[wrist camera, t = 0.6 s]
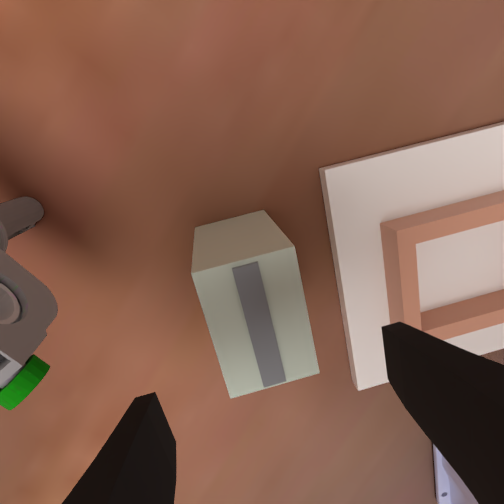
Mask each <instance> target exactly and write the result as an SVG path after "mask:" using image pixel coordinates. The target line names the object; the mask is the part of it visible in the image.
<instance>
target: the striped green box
mask: <svg viewBox="0 0 504 504" xmlns="http://www.w3.org/2000/svg"><path fill="white" fill-rule="evenodd" d="M191 275H192V278H193V281H194V284H195V288H196V291H197V294H198V297H199V300H200V303H201V307H202V310H203V313H204V316H205V319H206V322H207V326H208V329H209V332H210V335H211V338H212V341H213V345H214V348H215V351H216V354H217V357H218V360H219V364H220V367H221V370H222V373H223V376H224V379H225V383H226V386H227V389H228V392H229V395H230V398H235V397H238V396H242V395H245V394H249V393H252V392H256V391H259V390H263V389H266V388H270V387H273V386H276V385H280V384H283V383H287V382H290V381H294V380H297V379H301V378H304V377H308V376H311V375H315V374H318V373H320V372H319V367H318V362H317V357H316V352H315V347H314V342H313V337H312V332H311V327H310V321H309V316H308V311H307V306H306V301H305V296H304V291H303V286H302V281H301V276H300V271H299V266H298V260H297V255H296V250H295V246H294V245H293V244H292V242H291V241H290V240H289V239H288V238H287V237H286V235H285V234H284V233H283V232H282V231H281V229H280V228H279V227H278V226H277V225H276V224H275V222H274V221H273V220H272V219H271V218H270V217H269V215H268V214H267V213H266V212H265V211H264V210H260V211H257V212H253V213H249V214H245V215H241V216H237V217H233V218H229V219H226V220H222V221H218V222H214V223H210V224H206V225H202V226H198V227H195V233H194V245H193V257H192V269H191Z"/></svg>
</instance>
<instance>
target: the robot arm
mask: <svg viewBox="0 0 504 504" xmlns="http://www.w3.org/2000/svg"><path fill="white" fill-rule="evenodd" d="M381 328H382V336H383V345H384V353H385V361H386V369H387V378H388V380H389V382H390V384H391V385H392V387H393V389H394V390H395V392H396V394H397V395H398V397H399V399H400V400H401V402H402V403H403V405H404V406H405V408H406V409H407V411H408V412H409V413H410V415H411V416H412V417H413V419H414V420H415V421H416V422H417V424H418V425H419V426H420V427H421V429H422V430H423V431H424V433H425V434H426V435H427V436H428V438H429V439H430V440H431V441H432V443H433V452H434V467H435V483H436V499H437V502H438V504H504V365H502V364H500V363H497V362H494V361H492V360H489V359H486V358H484V357H481V356H479V355H476V354H474V353H471V352H469V351H466V350H464V349H462V348H459V347H457V346H455V345H452V344H450V343H448V342H446V341H443V340H441V339H439V338H437V337H434V336H432V335H430V334H428V333H425V332H423V331H421V330H419V329H417V328H414V327H412V326H410V325H407V324H405V323H403V322H396V323H393V324H389V325H386V326H382V327H381ZM175 486H176V441H175V439H174V436H173V434H172V431H171V429H170V427H169V424H168V422H167V419H166V417H165V415H164V412H163V410H162V407H161V405H160V402H159V400H158V398H157V395H156V393H155V392H154V393H150V394H147V395H143V396H140V397H136V398H135V399H134V400H133V402H132V403H131V405H130V406H129V408H128V409H127V411H126V412H125V414H124V416H123V417H122V419H121V420H120V422H119V423H118V425H117V426H116V428H115V429H114V431H113V432H112V434H111V435H110V437H109V438H108V440H107V441H106V443H105V444H104V446H103V447H102V449H101V450H100V452H99V453H98V455H97V456H96V458H95V459H94V461H93V462H92V463H91V465H90V466H89V468H88V469H87V470H86V472H85V473H84V474H83V476H82V477H81V479H80V480H79V481H78V483H77V484H76V485H75V487H74V488H73V489H72V491H71V492H70V494H69V495H68V496H67V498H66V499H65V500H64V502H63V503H62V504H174V496H175Z"/></svg>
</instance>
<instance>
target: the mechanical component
mask: <svg viewBox="0 0 504 504" xmlns="http://www.w3.org/2000/svg"><path fill="white" fill-rule="evenodd" d="M43 215H44V210H43V207H42V205H41V204H40V203H39V202H38V201H37V200H35V199H33V198H31V197H20V198H16V199H13V200H10V201H7V202H4V203H1V204H0V405H1V406H3V407H4V408H6V409H8V410H12V409H13V408H15V407H16V406H17V405H18V404H19V403H20V402H21V401H23V400H24V399H25V398H26V397H27V396H28V395H29V394H30V392H31V391H32V390H33V389H34V388H35V387H36V386H37V385H38V384H39V382H40V381H41V380H42V379H43V377H44V376H45V375H46V373H47V372H48V370H49V368H50V366H49V365H48V364H46V363H45V362H44V361H42V360H41V359H40V358H38V357H37V356H35V355H32V354H33V352H34V351H35V350H36V348H37V347H38V346H39V345H40V343H41V342H42V341H43V340H44V338H45V337H46V336H47V333H46V329H47V327H48V326H49V325H50V323H51V322H52V321H53V320H54V318H55V317H56V316H57V311H58V307H57V303H56V300H55V298H54V296H53V294H52V293H51V291H50V290H49V289H48V288H47V287H46V286H45V285H44V284H43V283H42V282H41V281H40V280H38V279H37V278H36V277H35V276H33V275H32V274H31V273H30V272H28V271H27V270H26V269H25V268H24V267H22V266H21V265H20V264H19V263H17V262H16V261H15V260H14V259H12V258H11V257H10V256H9V255H7V254H6V253H5V251H6V249H7V246H8V240H9V239H11V238H13V237H15V236H17V235H19V234H21V233H23V232H25V231H27V230H28V229H30V228H32V227H34V226H35V225H34V224H35V223H36V222H37V221H39V220H41V218H42V217H43Z"/></svg>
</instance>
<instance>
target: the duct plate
mask: <svg viewBox="0 0 504 504" xmlns="http://www.w3.org/2000/svg"><path fill="white" fill-rule="evenodd" d="M319 174H320V180H321V186H322V193H323V199H324V205H325V212H326V218H327V224H328V231H329V237H330V243H331V249H332V256H333V262H334V268H335V275H336V281H337V287H338V294H339V300H340V306H341V313H342V319H343V325H344V332H345V338H346V344H347V351H348V357H349V363H350V369H351V376H352V381H353V383H354V385H355V386H356V388H357V389H358V391H360V390H363V389H367V388H370V387H373V386H377V385H380V384H384V383H387V382H389V380H388V378H387V369H386V361H385V353H384V345H383V336H382V328H381V327H382V326H386V325H389V324H393V323H396V322H403V323H405V324H407V325H410V326H412V327H414V328H417V329H419V330H421V331H423V332H425V333H428V334H430V335H432V336H434V337H437V338H439V339H441V340H443V341H446V342H448V343H450V344H452V345H455V346H457V347H459V348H462V349H464V350H466V351H469V352H471V353H474V354H476V355H483V354H486V353H489V352H493V351H496V350H500V349H503V348H504V122H500V123H496V124H492V125H488V126H484V127H480V128H476V129H472V130H468V131H464V132H461V133H457V134H453V135H449V136H445V137H441V138H437V139H433V140H429V141H425V142H421V143H417V144H413V145H409V146H405V147H401V148H397V149H393V150H390V151H386V152H382V153H378V154H374V155H370V156H366V157H362V158H358V159H354V160H350V161H346V162H342V163H338V164H334V165H330V166H326V167H322V168H319Z"/></svg>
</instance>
